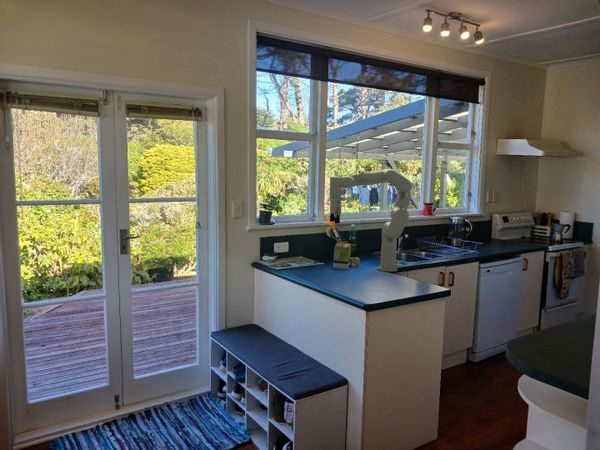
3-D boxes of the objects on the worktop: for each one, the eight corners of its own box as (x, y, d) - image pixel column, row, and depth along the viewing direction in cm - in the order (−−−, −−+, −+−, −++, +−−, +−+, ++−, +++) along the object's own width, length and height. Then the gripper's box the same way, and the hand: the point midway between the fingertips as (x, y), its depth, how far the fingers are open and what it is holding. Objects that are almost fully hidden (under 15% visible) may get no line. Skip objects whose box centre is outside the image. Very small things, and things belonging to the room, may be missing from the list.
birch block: (356, 264, 309) (356, 257, 308) (359, 266, 304) (359, 258, 303) (349, 264, 308) (350, 257, 307) (352, 266, 303) (352, 258, 302)
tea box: (348, 269, 292) (349, 247, 291) (332, 268, 294) (333, 245, 293) (350, 264, 307) (351, 243, 305) (335, 263, 309) (336, 242, 307)
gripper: (345, 196, 280) (344, 224, 283) (336, 195, 297) (335, 220, 299) (334, 196, 279) (333, 224, 281) (325, 195, 295) (325, 221, 297)
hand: (334, 222), depth 290 cm, fingers open, 9 cm apart
